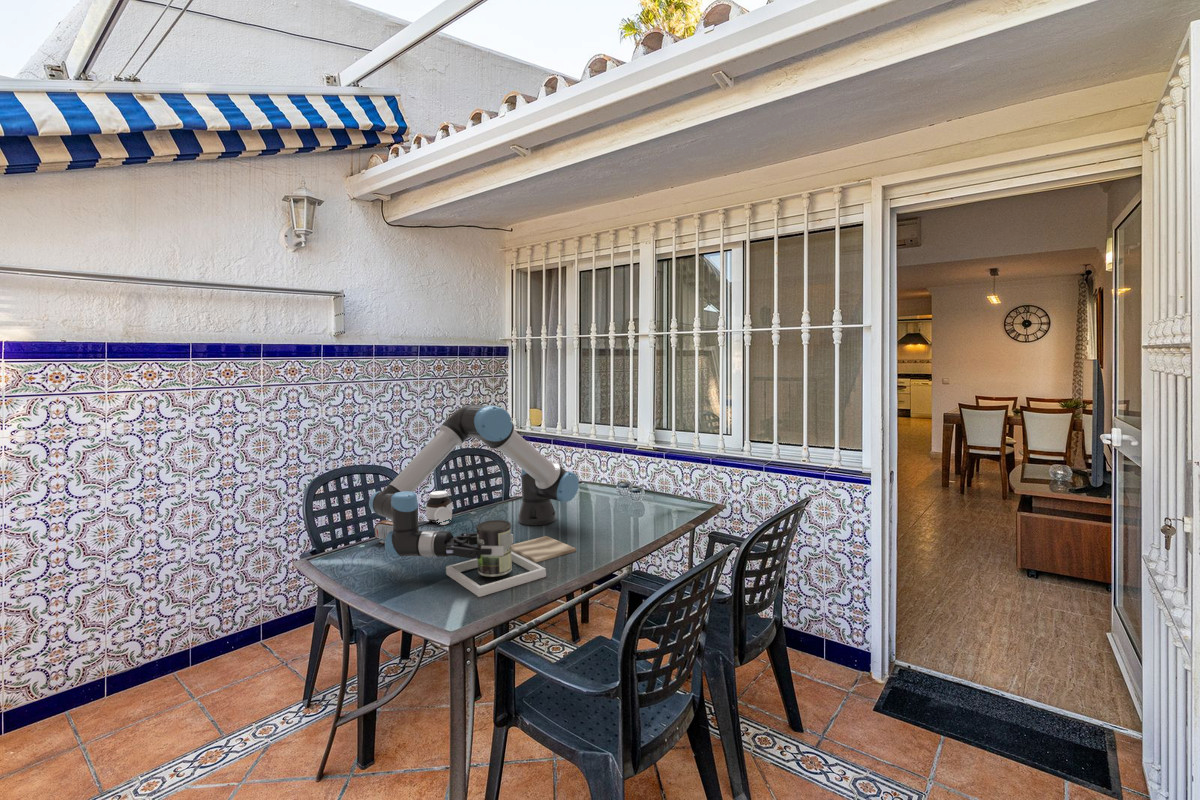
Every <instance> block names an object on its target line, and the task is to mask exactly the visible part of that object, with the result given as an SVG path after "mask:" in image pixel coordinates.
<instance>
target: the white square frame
mask: <svg viewBox="0 0 1200 800" xmlns="http://www.w3.org/2000/svg"><path fill="white" fill-rule="evenodd" d="M511 559H512V563H514V564H516V565H517V566H520V567H522V568H524V569H525V570H527V572H523V573H520V574H516V575H513V576H510V577H507V578H503V579H500V580H497V581H492V582H489V583H486V584H482V585H480V584H478V583H477V582H476V581H474V580H473V579H472V578H470V577H468V576H466V575H465V574H464V573H462V572H466V571H469V570H473V569H476V568H477V569H478V559H477V557H476V558H475V559H474V558H471V559H468V560H465V561H461V562H459V563H458V562H457V563H453V564H450V565H447V566H445V573H446V574H445V575H446V576H448V577H449V578H451V579H452V580H454V581H455V582H457V583H458V584H460V586H462V587H464V588H465V589H467V590H468V591H470V592H471V593H473V594H474V595H475V596H476V597H479V598H481V597H484V596H487V595H491V594H494V593H498V592H500V591H504V590H507V589H510V588H514V587H516V586H520V585H524V584H526V583H530V582H533V581H536V580H541V579H543V578H545V577H547V572H546V571H547V569H546V568H545V567H543V566H541V565H539V564H538V563H537V562H534V561H532V560H530V559H528V558H526V557H524V556H522V555H520V554H518V553H516V552H514V551H512V550H511Z"/></svg>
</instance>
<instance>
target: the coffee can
mask: <svg viewBox="0 0 1200 800" xmlns="http://www.w3.org/2000/svg"><path fill="white" fill-rule="evenodd" d="M511 528H512V523H511V522H509V521H507V520H502V519H501V520H500V519H498V520H497V519H493V520H487V521H486V520H485V521H483V522H480V523H478V524H477V525H476V527H475V529H476V533H477V544H476V546H478V547H480V549H481V546H503V549H504V555H503V556H481V558H480V559H478V567H477V572H478V574H479V575H480V576H483V577H489V578H495V577H502V576H505V575H507V574H509V573H511V571H512V570H513V566H512V565H513V564H512V563H513V562H512V559H511V551H512V550H511V545H512V543H511V534H512V533H511V531H512V529H511Z"/></svg>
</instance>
